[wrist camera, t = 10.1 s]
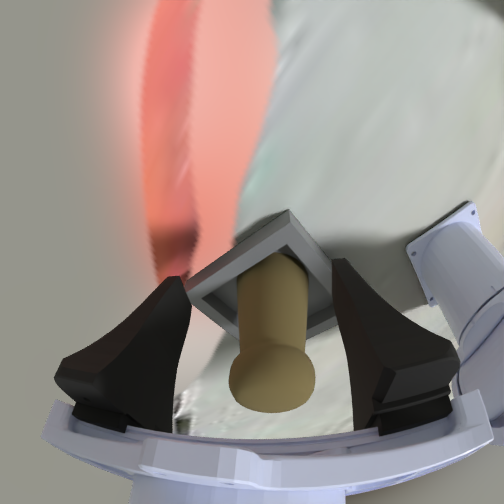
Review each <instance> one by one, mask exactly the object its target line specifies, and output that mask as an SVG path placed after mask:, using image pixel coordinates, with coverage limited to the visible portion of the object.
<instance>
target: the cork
mask: <svg viewBox="0 0 504 504" xmlns="http://www.w3.org/2000/svg"><path fill="white" fill-rule="evenodd" d="M236 282H237V303H238V323H239V341H240V354H239V355H238V356H237V357H236V358H235V359H234V361H233V364H232V366H231V369H230V375H229V388H230V391H231V393H232V395H233V397H234V398H235V400H236V401H237V402H238V403H239V404H240V405H242V406H244V407H246V408H248V409H251V410H253V411H258V412H265V413H280V412H285V411H290V410H293V409H295V408H298V407H299V406H301V405H303V404H304V403H306V402H307V400H308V399H309V398H310V396H311V394H312V393H313V391H314V386H315V370H314V367H313V364H312V362H311V360H310V359H309V357H308V356H307V354H305V342H306V327H307V310H308V288H309V278H308V273H307V270H306V268H305V266H304V265H303V264H302V263H301V262H300V261H299V260H297V259H296V258H294V257H292V256H290V255H288V254H284V253H277V252H273V253H272V254H270V255H269V256H267V257H266V258H264V259H262V260H261V261H259V262H258V263H256V264H255V265H253V266H252V267H250V268H248V269H247V270H245V271H244V272H242V273H241V274H239V275H237V281H236Z"/></svg>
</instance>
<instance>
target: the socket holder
mask: <svg viewBox="0 0 504 504" xmlns="http://www.w3.org/2000/svg"><path fill="white" fill-rule="evenodd" d="M273 252H277V253H284V254H288V255H290V256H292V257H294V258H296V259H297V260H299V261H300V262H301V263H302V264H303V265H304V266H305V268H306V270H307V273H308V278H309V288H308V310H307V327H306V340H307V339H309V338H311V337H313V336H315V335H317V334H320V333H322V332H324V331H326V330H328V329H330V328H332V327H334V326H336V325H338V322H337V318H336V315H335V310H334V304H333V298H332V263H331V261H330V260H329V259H328V257H327V256H326V255H325V254H324V252H323V251H322V250H321V248H320V247H319V246H318V245H317V243H316V242H315V241H314V240H313V238H312V237H311V236H310V235H309V233H308V232H307V231H306V230H305V228H304V227H303V226H302V225H301V224H300V222H299V221H298V220H297V219H296V217H295V216H294V215H293V214H292V213H291V211H290V210H289V209H288V210H287V211H286V212H284V213H283V214H281V215H280V216H278V217H277V218H275V219H274V220H273V221H271V222H270V223H268V224H267V225H265V226H264V227H262V228H261V229H260V230H258V231H257V232H255V233H254V234H252V235H251V236H249V237H248V238H247V239H245V240H244V241H242V242H241V243H239V244H238V245H237V246H235V247H234V248H232V249H231V250H230V251H228V252H227V253H225V254H224V255H222V256H221V257H219V258H218V259H217V260H215V261H214V262H212V263H211V264H210V265H208V266H207V267H205V268H204V269H202V270H201V271H200V272H198V273H197V274H195V275H194V276H193V277H191V278H190V279H188V280H187V282H186V285H185V287H184V288H185V291H186V293H187V296H188V298H189V300H190V302H191V304H192V305H193V306H195V307H196V308H197V309H199V310H200V311H201V312H202V313H204V314H205V315H206V316H207V317H209V318H210V319H211V320H212V321H214V322H215V323H216V324H218V325H219V326H220V327H222V328H223V329H224V330H226V331H227V332H228V333H230V334H231V335H232V336H234V337H235V338H236V339H238V340H239V323H238V303H237V282H236V281H237V275H239V274H241V273H242V272H244V271H245V270H247V269H248V268H250V267H252V266H253V265H255V264H256V263H258V262H259V261H261V260H262V259H264V258H266V257H267V256H269V255H270V254H272V253H273Z"/></svg>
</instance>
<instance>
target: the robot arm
mask: <svg viewBox="0 0 504 504" xmlns="http://www.w3.org/2000/svg"><path fill="white" fill-rule="evenodd" d="M472 210H473V211H472ZM471 212H472V213H471ZM414 251H415V252H414ZM406 252H407V254H408V256H409V258H410V261H411V263H412V265H413V267H414V270H415V272H416V274H417V277H418V279H419V281H420V284H421V286H422V289H423V291H424V294H425V296H426V299H427V301H428V304H429V306H430V307H434V306H436V305H437V304H438V305H439V307H440V309H441V311H442V313H443V314H444V316H445V318H446V320H447V322H448V324H449V326H450V328H451V330H452V332H453V334H454V336H455V339H456V341H457V343H458V345H459V348H458V349H457V351H456V350H455V348H454V346H453V344H452V342H451V341H450V340H448V339H445V338H443V337H441V336H439V335H436V334H434V333H432V332H430V331H428V330H427V329H425V328H423V327H421V326H419V325H418V324H416V323H414V322H413V321H411V320H410V319H408V318H407V317H405V316H404V315H402V314H401V313H400V312H398V311H397V310H396V309H394V308H393V307H392V306H391V305H389V304H388V303H387V302H386V301H385V300H384V299H383V298H381V297H380V296H379V295H378V294H377V293H376V292H375V291H374V290H373V289H372V288H371V287H370V286H369V285H368V284H367V283H366V282H365V280H364V279H363V278H362V277H361V276H360V275H359V274H358V273H357V271H356V270H355V269H354V268H353V267H352V266H351V264H350V263H349V262H348V261H347V260H346V259H345V258H342V259H334V260H332V298H333V304H334V310H335V315H336V318H337V322H338V325H339V329H340V333H341V336H342V340H343V344H344V347H345V351H346V356H347V361H348V369H349V376H350V385H351V395H352V407H353V425H354V431H352V432H346V433H339V434H331V435H323V436H314V437H303V438H287V439H224V438H209V437H197V436H188V435H180V434H172V415H173V398H174V388H175V380H176V373H177V367H178V363H179V359H180V355H181V351H182V348H183V345H184V341H185V338H186V334H187V331H188V327H189V323H190V317H191V309H192V305H191V302H190V300H189V298H188V296H187V293H186V291H185V288H184V286H183V284H182V281H181V279H180V276H170V277H167V278H166V279H165V280H164V281H163V282H162V283H161V284H160V285H159V286H158V287H157V288H156V289H155V290H154V291H153V292H152V293H151V294H150V295H149V296H148V298H147V299H146V300H145V301H144V302H143V303H142V304H141V305H140V306H139V307H138V308H137V309H136V310H135V311H134V312H132V314H130V315H129V317H127V318H126V319H125V320H124V321H123V322H121V323H120V324H119V325H118V326H117V327H115V328H114V329H113V330H112V331H110V332H109V333H107V334H106V335H104V336H103V337H102V338H100V339H99V340H97V341H96V342H94V343H93V344H91V345H89V346H87V347H86V348H84V349H82V350H80V351H78V352H76V353H74V354H72V355H70V356H68V357H66V358H63V360H62V362H61V364H60V366H59V368H58V370H57V372H56V374H55V376H54V380H55V382H56V384H57V385H58V386H59V387H60V388H61V389H62V390H63V391H64V392H65V393H66V394H67V395H68V396H70V397H71V398H72V399H73V400H74V401H75V402H76V404H75V406H72V405H70V404H68V403H65V402H62V401H59V400H55V401H54V404H53V406H52V409H51V411H50V414H49V416H48V418H47V421H46V424H45V426H44V429H43V431H42V434H41V438H42V439H43V440H45V441H46V442H48V443H50V444H51V445H53V446H55V447H57V448H58V449H60V450H61V451H63V452H65V453H67V454H68V455H70V456H72V457H74V458H76V459H79V460H81V461H83V462H85V463H88V464H90V465H93V466H95V467H97V468H100V469H102V470H105V471H107V472H110V473H113V474H115V475H118V476H121V477H124V478H127V479H130V480H133V485H132V489H131V494H130V499H129V504H345V496H347V495H352V494H357V493H362V492H367V491H371V490H375V489H380V488H383V487H387V486H391V485H394V484H397V483H401V482H404V481H408V480H411V479H413V478H416V477H419V476H422V475H425V474H427V473H430V472H433V471H436V470H438V469H441V468H443V467H445V466H448V465H450V464H452V463H455V462H457V461H459V460H462V459H464V458H466V457H467V456H469V455H470V454H472V453H474V452H476V451H477V450H479V449H480V448H482V447H484V446H485V445H487V444H488V443H489V444H491V445H499V446H504V257H503V256H502V255H501V254H500V253H499V251H498V250H497V249H496V248H495V247H494V246H493V245H492V244H491V243H490V242H489V241H488V240H487V238H486V237H485V236H484V235H483V234H482V232H481V227H480V222H479V217H478V213H477V209H476V205H475V203H474V202H472V201H470V202H468V203H467V204H466V205H464V206H463V207H461V208H460V209H459V210H457V211H456V212H455V213H453V214H452V215H450V216H449V217H448V218H446V219H445V220H443V221H442V222H440V223H439V224H438V225H436V226H435V227H433V228H432V229H430V230H429V231H427V232H426V233H424V234H423V235H421V236H420V237H418V238H417V239H415V240H414V241H412V242H411V243H409V244H408V245H407V246H406ZM412 252H414V253H413V254H412ZM451 380H452V392H453V396H454V399H452V400H451V401H450V399H449V396H448V395H449V394H450V393H451V390H450V387H449V383H450V381H451Z"/></svg>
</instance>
